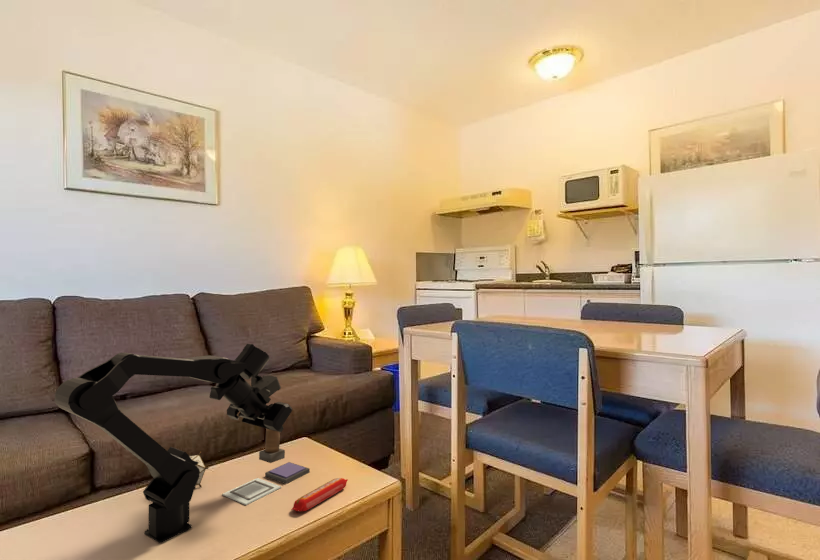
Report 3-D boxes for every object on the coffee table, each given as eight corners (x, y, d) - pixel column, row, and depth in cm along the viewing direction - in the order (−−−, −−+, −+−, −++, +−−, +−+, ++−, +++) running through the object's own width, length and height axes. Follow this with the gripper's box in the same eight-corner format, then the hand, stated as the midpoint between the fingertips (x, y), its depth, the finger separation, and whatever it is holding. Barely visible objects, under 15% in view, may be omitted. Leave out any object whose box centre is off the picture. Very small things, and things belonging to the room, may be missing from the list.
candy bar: (338, 484, 107) (338, 472, 108) (349, 488, 105) (349, 476, 106) (288, 513, 94) (288, 499, 94) (300, 518, 92) (300, 504, 92)
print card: (246, 505, 97) (245, 503, 97) (222, 495, 102) (222, 493, 102) (281, 487, 105) (281, 485, 105) (257, 478, 110) (257, 477, 110)
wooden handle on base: (270, 463, 106) (272, 409, 106) (259, 459, 108) (261, 407, 109) (284, 458, 109) (286, 406, 110) (273, 454, 112) (275, 404, 112)
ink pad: (286, 484, 107) (286, 478, 107) (265, 476, 112) (265, 471, 112) (309, 472, 114) (309, 467, 114) (289, 465, 118) (289, 460, 118)
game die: (193, 505, 105) (194, 482, 99) (161, 492, 105) (160, 469, 100) (215, 473, 112) (217, 450, 107) (185, 461, 112) (185, 438, 107)
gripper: (286, 370, 101) (319, 407, 110) (238, 363, 111) (271, 397, 120) (258, 411, 94) (295, 447, 103) (209, 399, 104) (246, 433, 113)
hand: (277, 429), depth 110 cm, fingers closed on wooden handle on base, 3 cm apart
